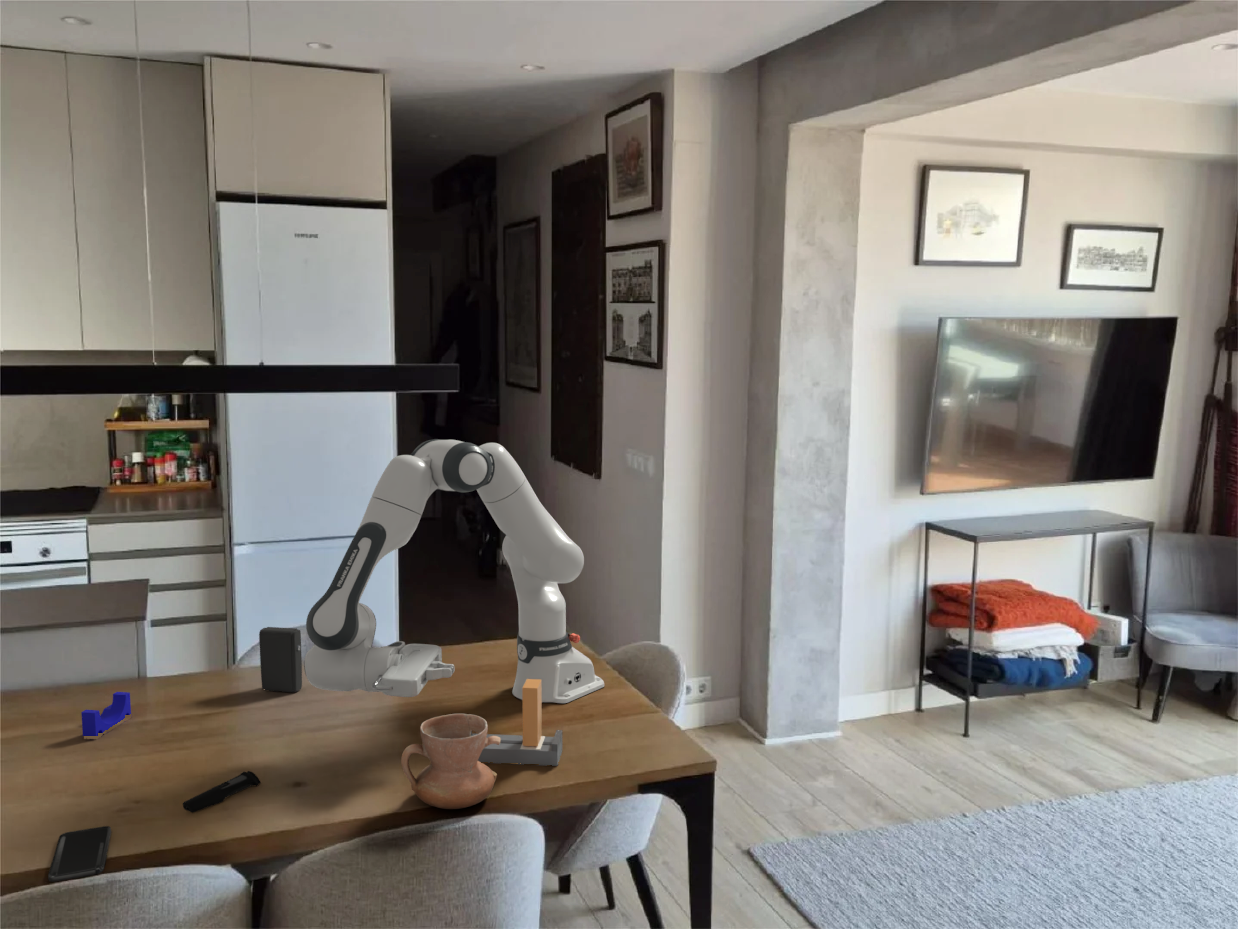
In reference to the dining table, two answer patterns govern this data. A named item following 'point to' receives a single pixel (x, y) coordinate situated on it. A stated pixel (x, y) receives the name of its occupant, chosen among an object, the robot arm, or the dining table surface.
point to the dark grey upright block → (280, 659)
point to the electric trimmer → (221, 792)
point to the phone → (80, 853)
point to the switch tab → (532, 712)
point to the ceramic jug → (452, 762)
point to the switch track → (523, 750)
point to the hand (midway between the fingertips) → (452, 670)
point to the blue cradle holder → (106, 715)
